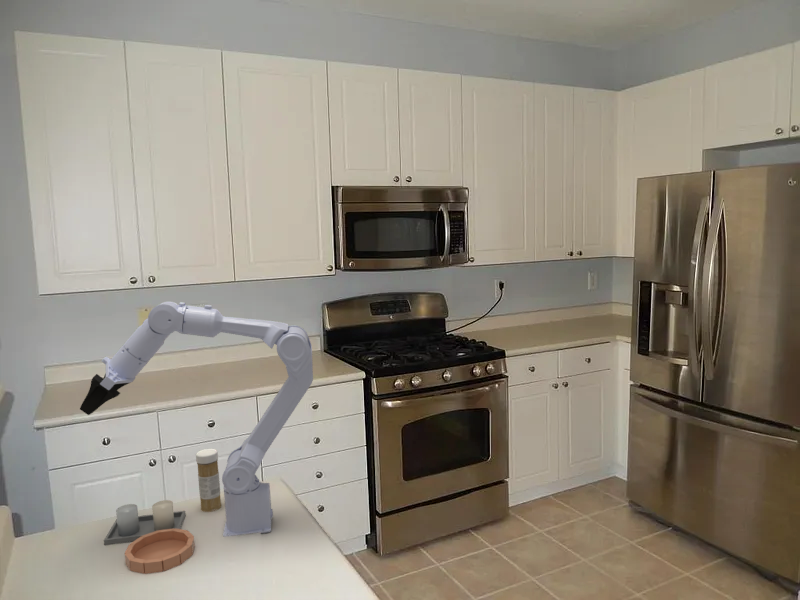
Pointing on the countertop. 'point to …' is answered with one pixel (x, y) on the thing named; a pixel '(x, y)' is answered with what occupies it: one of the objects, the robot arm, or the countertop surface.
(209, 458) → the sprinkles bottle
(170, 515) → the cream rounded cylinder
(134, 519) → the grey rounded cylinder
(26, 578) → the countertop surface
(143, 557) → the bowl
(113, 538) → the tray
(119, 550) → the countertop surface
